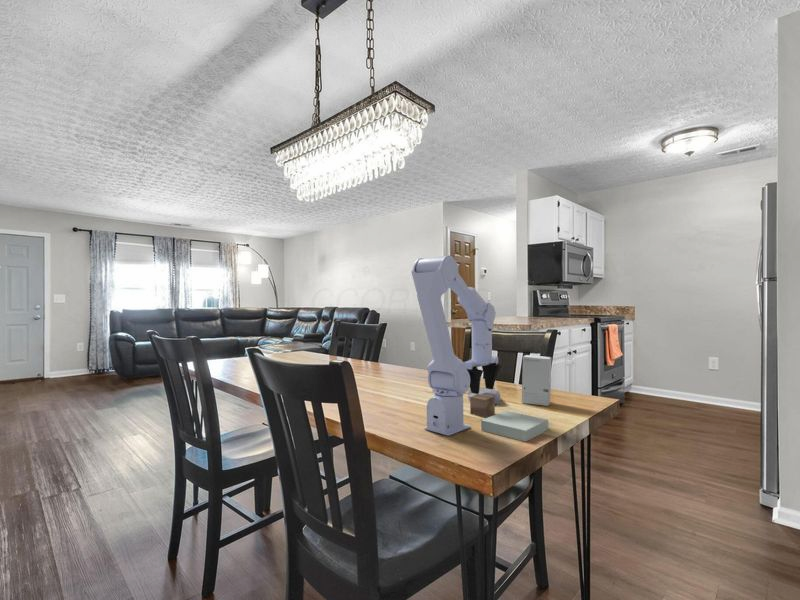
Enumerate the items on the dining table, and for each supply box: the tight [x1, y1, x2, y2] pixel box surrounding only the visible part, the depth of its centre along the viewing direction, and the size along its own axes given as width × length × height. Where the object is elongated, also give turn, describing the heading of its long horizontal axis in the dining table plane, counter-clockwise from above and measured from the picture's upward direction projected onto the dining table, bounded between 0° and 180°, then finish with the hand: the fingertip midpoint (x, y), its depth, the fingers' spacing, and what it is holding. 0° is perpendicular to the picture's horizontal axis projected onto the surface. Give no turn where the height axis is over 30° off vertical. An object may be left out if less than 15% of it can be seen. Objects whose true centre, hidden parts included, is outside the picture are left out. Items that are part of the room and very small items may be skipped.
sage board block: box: [480, 410, 549, 442], centre depth 100 cm, size 12×12×3 cm
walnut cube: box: [469, 394, 496, 418], centre depth 115 cm, size 5×5×5 cm
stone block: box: [467, 386, 501, 405], centre depth 131 cm, size 12×5×10 cm
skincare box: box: [521, 354, 552, 407], centre depth 127 cm, size 8×6×15 cm
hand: (482, 391), depth 115 cm, fingers open, 7 cm apart
